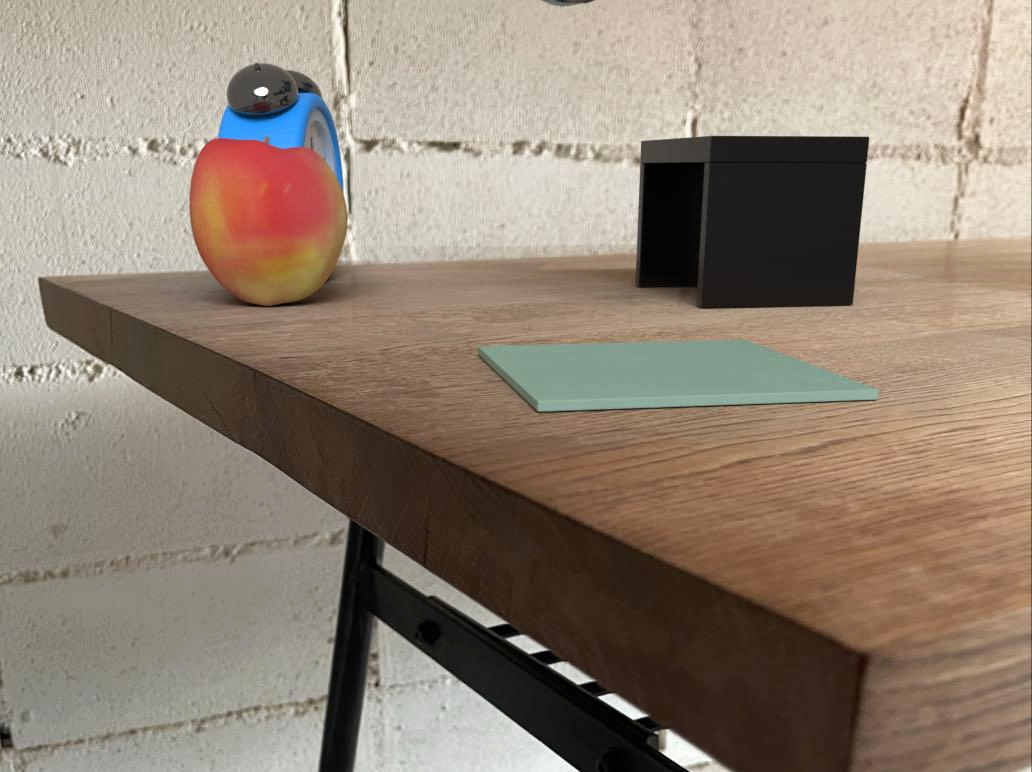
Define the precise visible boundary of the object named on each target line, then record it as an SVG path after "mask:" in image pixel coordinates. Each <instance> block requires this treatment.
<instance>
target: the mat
mask: <svg viewBox="0 0 1032 772" xmlns="http://www.w3.org/2000/svg"><path fill="white" fill-rule="evenodd" d="M477 355H478V356H479V357H480V358H481V359H482V360H483V361H484V362H485V363H486V364H487V365H488V366H490V367H491V368H492V369H493V370H494V372H496V373H497V374H498V375H499V376H500V377H501V378H502V379H503V380H504V381H505V382H506V383H507V384H508V385H509V386H510V387H511V388H512V389H513V390H514V391H516V392H517V393H518V395H520V396H521V397H522V398H523V399H524V401H526V402H527V403H528V404H529V405H530V406H531V407H532V408H533V409H534V410H536V412H538V413H545V412H573V411H599V410H601V411H602V410H628V409H629V410H631V409H655V408H684V407H685V408H686V407H687V408H688V407H711V406H712V407H714V406H740V405H741V406H742V405H765V404H767V405H768V404H769V405H770V404H771V405H772V404H794V403H795V404H796V403H799V404H800V403H824V402H850V401H851V402H853V401H854V402H855V401H876V400H878V399H879V392H880V389H878V388H876V387H873V386H870V385H868V384H866V383H863V382H860V381H857V380H854V379H851V378H849V377H846V376H844V375H841V374H839V373H836V372H833V371H830V370H827V369H825V368H823V367H820V366H817V365H814V364H811V363H809V362H807V361H804V360H801V359H799V358H796V357H793V356H791V355H787V354H785V353H782V352H779V351H776V350H774V349H772V348H769V347H765V346H763V345H760V344H758V343H755V342H752V341H750V340H747V339H744V338H743V339H712V340H711V339H710V340H709V339H707V340H706V339H705V340H673V341H672V340H670V341H667V340H666V341H634V342H633V341H631V342H629V341H628V342H597V343H595V342H593V343H589V342H588V343H556V344H555V343H554V344H552V343H551V344H550V343H549V344H518V345H517V344H515V345H513V344H511V345H479V346H477Z"/></svg>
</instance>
